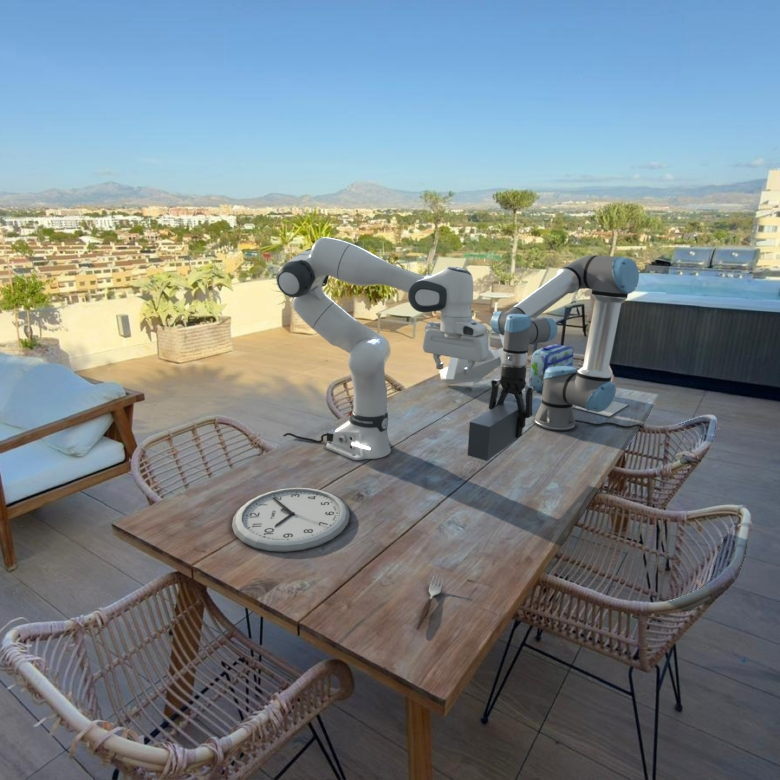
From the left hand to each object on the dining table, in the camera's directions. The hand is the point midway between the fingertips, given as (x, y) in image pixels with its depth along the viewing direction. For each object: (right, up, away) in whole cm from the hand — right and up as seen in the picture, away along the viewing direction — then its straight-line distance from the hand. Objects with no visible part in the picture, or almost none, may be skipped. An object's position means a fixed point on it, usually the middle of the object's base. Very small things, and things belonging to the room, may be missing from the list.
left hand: (453, 371), depth 154 cm
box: (+14, -23, +8) cm, 28 cm away
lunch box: (+58, -5, +96) cm, 112 cm away
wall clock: (-44, -39, -18) cm, 62 cm away
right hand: (+20, -20, +14) cm, 31 cm away
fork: (-11, -49, -49) cm, 70 cm away
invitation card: (+73, -13, +72) cm, 103 cm away
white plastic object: (+23, -7, +89) cm, 92 cm away
